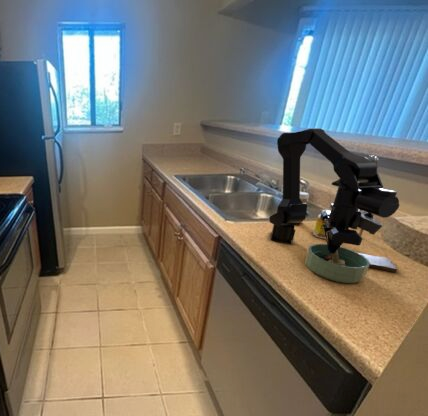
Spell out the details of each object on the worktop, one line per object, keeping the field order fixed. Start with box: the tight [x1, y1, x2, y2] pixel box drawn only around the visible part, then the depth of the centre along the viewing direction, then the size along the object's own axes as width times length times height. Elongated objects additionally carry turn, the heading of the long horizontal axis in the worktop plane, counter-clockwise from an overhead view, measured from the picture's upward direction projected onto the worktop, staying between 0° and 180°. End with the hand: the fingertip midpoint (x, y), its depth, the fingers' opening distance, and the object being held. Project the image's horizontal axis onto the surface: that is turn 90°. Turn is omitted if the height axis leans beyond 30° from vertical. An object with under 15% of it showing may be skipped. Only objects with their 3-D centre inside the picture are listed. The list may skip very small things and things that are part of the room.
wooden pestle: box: [327, 231, 345, 266], centre depth 84 cm, size 4×4×11 cm
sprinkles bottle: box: [300, 191, 310, 204], centre depth 115 cm, size 5×5×13 cm
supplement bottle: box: [312, 209, 332, 240], centre depth 104 cm, size 6×6×10 cm
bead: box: [324, 255, 332, 261], centre depth 88 cm, size 2×2×2 cm
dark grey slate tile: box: [358, 252, 398, 273], centre depth 88 cm, size 9×7×1 cm
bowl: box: [304, 243, 370, 284], centre depth 83 cm, size 14×14×6 cm
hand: (330, 251), depth 84 cm, fingers closed on wooden pestle, 2 cm apart
